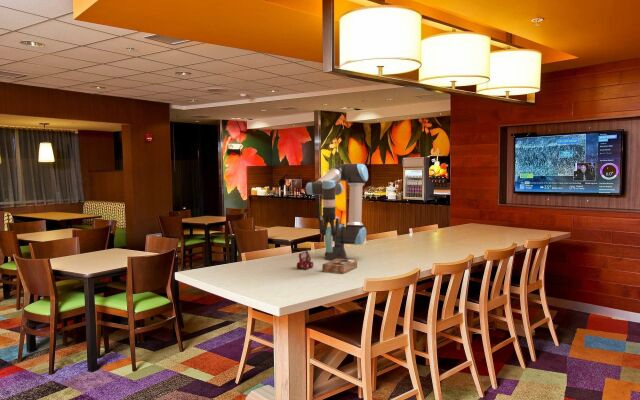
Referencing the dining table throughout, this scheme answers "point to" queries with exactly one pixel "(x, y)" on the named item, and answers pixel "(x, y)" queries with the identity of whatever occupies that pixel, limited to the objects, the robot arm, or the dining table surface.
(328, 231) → the plug
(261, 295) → the dining table surface
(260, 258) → the dining table surface
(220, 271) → the dining table surface
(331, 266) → the socket board
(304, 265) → the dark red rounded figure
